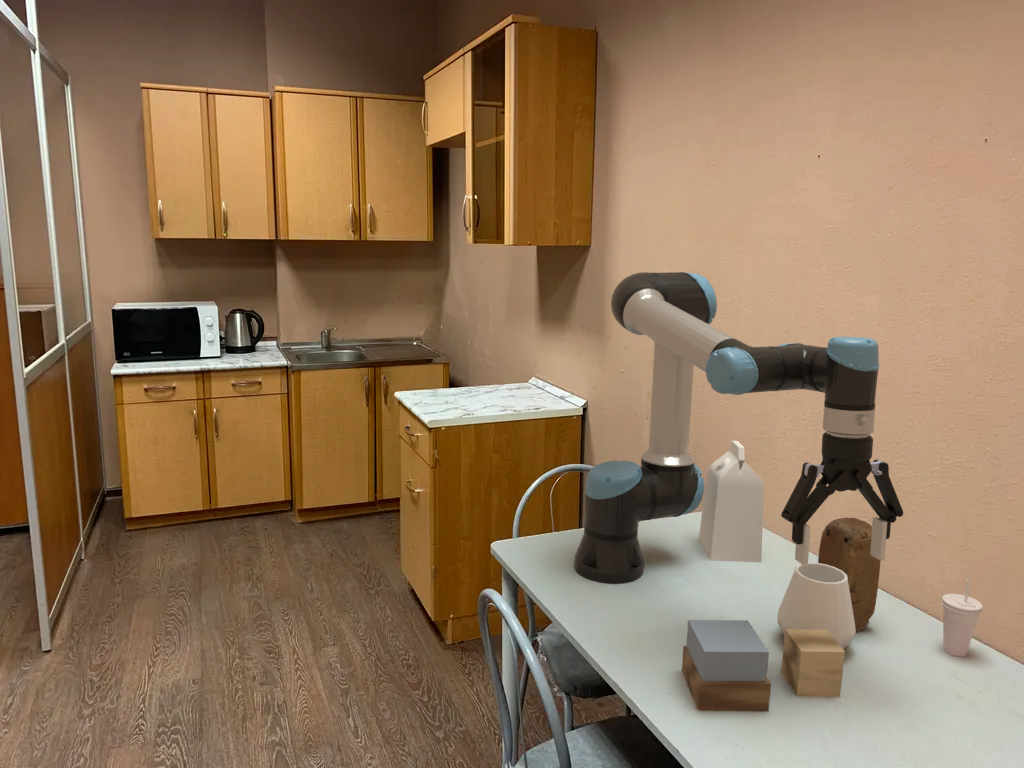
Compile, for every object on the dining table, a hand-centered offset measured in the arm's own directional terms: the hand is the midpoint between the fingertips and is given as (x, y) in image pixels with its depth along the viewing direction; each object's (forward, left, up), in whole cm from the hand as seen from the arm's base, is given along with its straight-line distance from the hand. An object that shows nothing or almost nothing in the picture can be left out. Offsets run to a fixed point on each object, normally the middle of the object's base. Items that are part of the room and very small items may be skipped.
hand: (839, 560), depth 128 cm
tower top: (+5, -19, -16) cm, 26 cm away
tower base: (+5, -19, -21) cm, 29 cm away
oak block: (+3, -4, -21) cm, 21 cm away
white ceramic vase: (-10, +2, -21) cm, 23 cm away
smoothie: (-8, +27, -21) cm, 35 cm away
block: (-19, +11, -21) cm, 30 cm away
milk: (-52, -1, -21) cm, 56 cm away
